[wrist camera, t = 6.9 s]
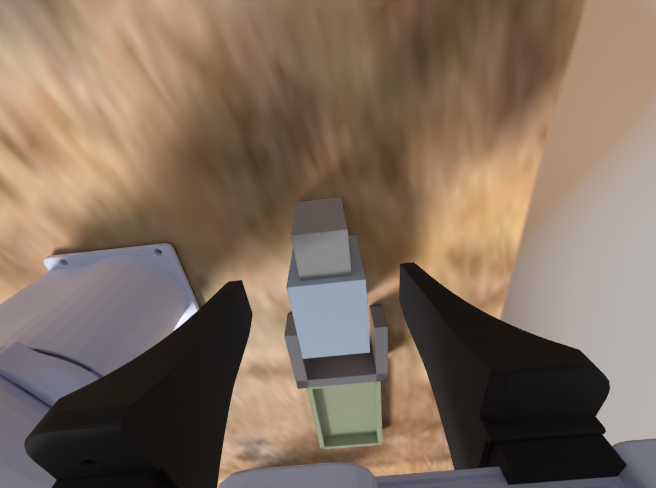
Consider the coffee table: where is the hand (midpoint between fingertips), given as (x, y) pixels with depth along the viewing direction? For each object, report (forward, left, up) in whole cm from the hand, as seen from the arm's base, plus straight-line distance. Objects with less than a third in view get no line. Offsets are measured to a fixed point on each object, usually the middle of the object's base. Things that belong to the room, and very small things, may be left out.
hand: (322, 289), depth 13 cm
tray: (0, -22, -8) cm, 23 cm away
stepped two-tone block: (0, -3, -8) cm, 9 cm away
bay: (0, -12, -8) cm, 14 cm away
